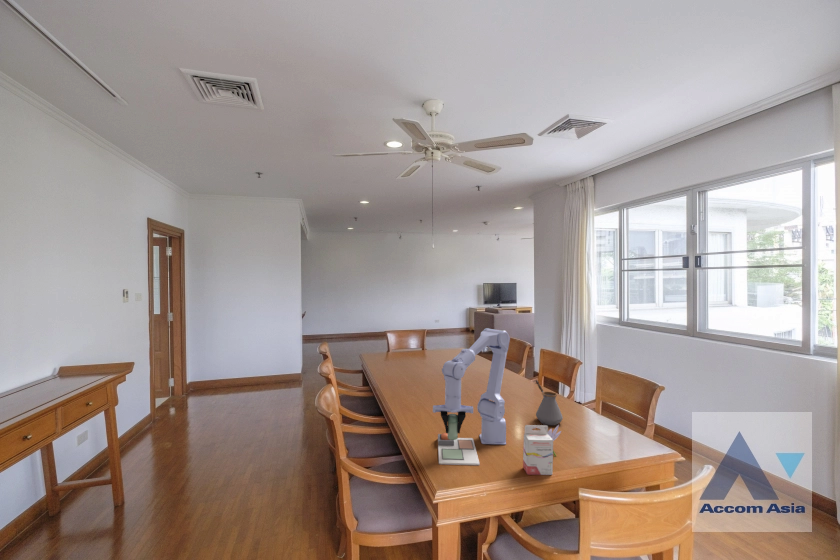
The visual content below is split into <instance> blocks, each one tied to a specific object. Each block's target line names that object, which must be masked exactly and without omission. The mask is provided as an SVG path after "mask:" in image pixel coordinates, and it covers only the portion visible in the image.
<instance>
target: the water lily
mask: <svg viewBox="0 0 840 560" xmlns="http://www.w3.org/2000/svg"><path fill="white" fill-rule="evenodd" d="M559 426H560V424H557V425H556V427H555V428H554V429H553V428H552V427H551V428H550V429H548V435H549V436H550V437H551V438H552V439H553V442H554V441H555V440H556V439H557V438H559V436H560V435H561V433H562V430H560V431H558V430H559ZM553 457H557V454H556V452H555V450H553Z"/></svg>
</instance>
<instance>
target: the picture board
mask: <svg viewBox="0 0 840 560" xmlns="http://www.w3.org/2000/svg"><path fill="white" fill-rule="evenodd" d="M441 434H442V433H438V434H437V450H438V465H455V466H456V465H459V466H481V465H480V460H479V456H478V453H477V448H476V446H475V445H476V444H475V440H474V437H473V438H472V437H458V439H456V440H441Z"/></svg>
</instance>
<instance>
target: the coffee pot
mask: <svg viewBox="0 0 840 560" xmlns="http://www.w3.org/2000/svg"><path fill="white" fill-rule="evenodd" d="M534 384H536V385H537V387H538V389H539V391H540V392H541V395H542V396H543V398H542V400H541V402H540V404H539V406H538V408H537V411H536V412H535V416H536V418H537V420H538V421H540V423H541V424H543V425H547V426H558V425H559V424H560V423H561V422H562V421H563V419H564V417H563V414H562V412H561V409H560V406H559V405H558V403H557V400H556V397H557V396H558V393H556V392H552V391H544V390H543V388H542V386H541V384H540V382H539V380H537V379H535V380H534Z"/></svg>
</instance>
